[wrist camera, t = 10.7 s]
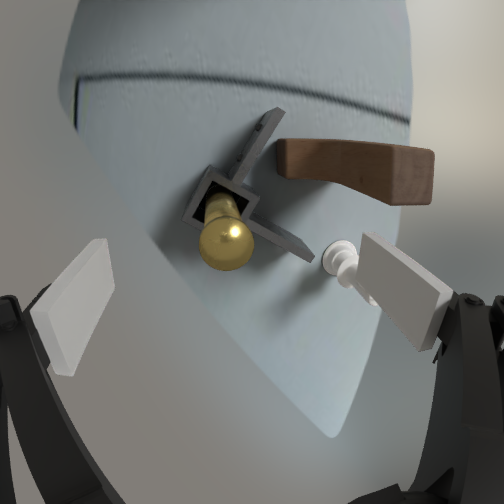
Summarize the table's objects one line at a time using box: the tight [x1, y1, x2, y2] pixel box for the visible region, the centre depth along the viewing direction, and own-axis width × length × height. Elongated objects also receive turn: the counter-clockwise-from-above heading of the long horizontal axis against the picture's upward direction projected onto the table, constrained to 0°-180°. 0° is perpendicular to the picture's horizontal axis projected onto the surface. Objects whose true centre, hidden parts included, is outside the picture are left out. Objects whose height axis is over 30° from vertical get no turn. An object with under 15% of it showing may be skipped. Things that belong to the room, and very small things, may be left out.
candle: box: [323, 240, 378, 306], centre depth 36 cm, size 5×5×12 cm
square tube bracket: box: [181, 107, 315, 263], centre depth 33 cm, size 15×15×6 cm
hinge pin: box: [199, 185, 254, 271], centre depth 28 cm, size 4×4×17 cm
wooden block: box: [277, 139, 435, 206], centre depth 27 cm, size 9×4×18 cm, turn 92°
